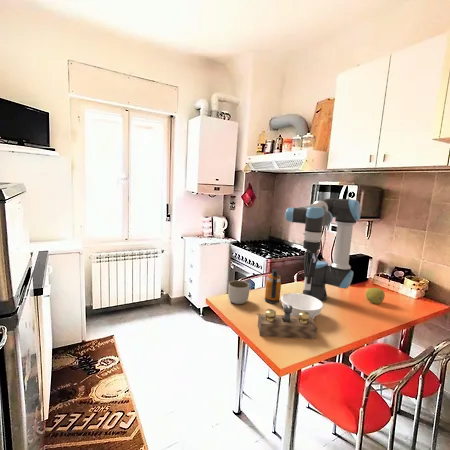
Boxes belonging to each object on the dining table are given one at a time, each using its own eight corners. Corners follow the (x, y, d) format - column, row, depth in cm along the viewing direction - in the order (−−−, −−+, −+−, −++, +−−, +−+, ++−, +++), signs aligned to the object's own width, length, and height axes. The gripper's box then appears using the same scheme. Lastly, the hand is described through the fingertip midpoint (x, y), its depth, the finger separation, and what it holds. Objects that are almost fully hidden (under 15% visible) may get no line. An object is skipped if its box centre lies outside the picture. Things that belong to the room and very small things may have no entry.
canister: (278, 298, 170) (281, 268, 167) (280, 306, 159) (283, 273, 157) (264, 297, 171) (266, 266, 168) (265, 304, 160) (268, 272, 157)
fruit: (387, 305, 171) (389, 290, 169) (374, 306, 167) (376, 291, 166) (373, 298, 180) (375, 284, 179) (361, 300, 177) (363, 285, 175)
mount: (309, 328, 135) (310, 317, 135) (315, 339, 125) (317, 327, 125) (257, 324, 136) (258, 313, 135) (259, 335, 126) (260, 323, 125)
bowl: (276, 305, 161) (277, 291, 160) (314, 307, 160) (316, 294, 159) (283, 324, 138) (284, 308, 137) (327, 327, 138) (329, 311, 137)
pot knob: (289, 323, 132) (291, 304, 131) (291, 327, 128) (293, 308, 127) (281, 322, 132) (283, 303, 131) (283, 326, 128) (284, 307, 127)
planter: (244, 296, 170) (245, 280, 168) (251, 305, 158) (252, 287, 157) (225, 297, 166) (226, 280, 165) (231, 306, 155) (232, 288, 153)
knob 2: (305, 329, 133) (307, 311, 131) (308, 335, 128) (310, 316, 127) (296, 329, 133) (298, 311, 131) (298, 334, 128) (300, 315, 127)
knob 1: (273, 327, 133) (275, 309, 132) (275, 332, 128) (276, 314, 127) (263, 327, 133) (265, 308, 132) (264, 332, 128) (266, 313, 127)
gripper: (300, 237, 131) (295, 284, 134) (308, 242, 118) (302, 294, 121) (315, 238, 131) (310, 285, 134) (325, 243, 118) (319, 295, 121)
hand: (307, 289), depth 128 cm, fingers closed
